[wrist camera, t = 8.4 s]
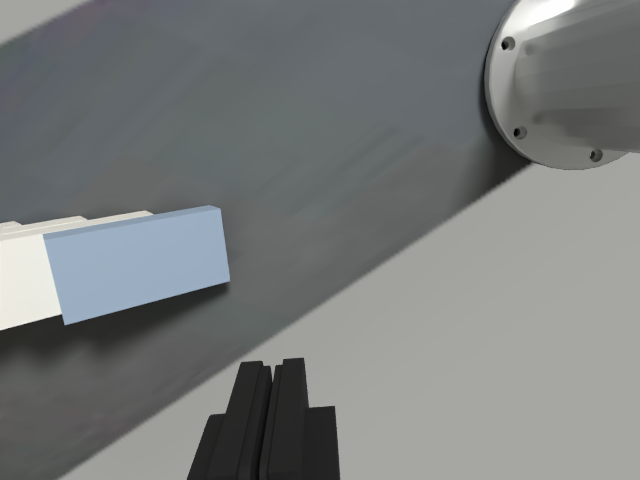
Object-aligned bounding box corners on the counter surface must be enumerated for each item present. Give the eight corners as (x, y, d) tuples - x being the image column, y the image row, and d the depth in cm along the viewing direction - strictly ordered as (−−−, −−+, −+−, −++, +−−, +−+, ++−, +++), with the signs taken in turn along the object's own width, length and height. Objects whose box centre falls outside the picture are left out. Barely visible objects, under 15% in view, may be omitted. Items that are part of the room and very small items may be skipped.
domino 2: (220, 208, 29) (44, 240, 24) (230, 280, 31) (64, 325, 26) (209, 205, 31) (42, 234, 26) (219, 273, 32) (62, 314, 27)
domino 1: (153, 214, 29) (-38, 247, 24) (166, 286, 31) (-13, 333, 25) (145, 210, 31) (-36, 241, 26) (157, 279, 32) (-13, 322, 27)
